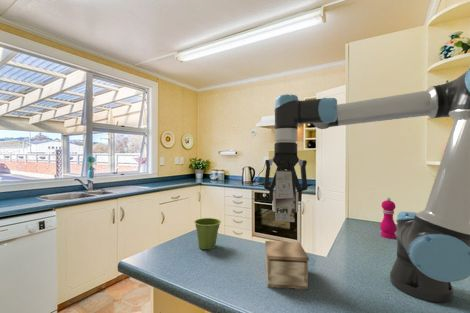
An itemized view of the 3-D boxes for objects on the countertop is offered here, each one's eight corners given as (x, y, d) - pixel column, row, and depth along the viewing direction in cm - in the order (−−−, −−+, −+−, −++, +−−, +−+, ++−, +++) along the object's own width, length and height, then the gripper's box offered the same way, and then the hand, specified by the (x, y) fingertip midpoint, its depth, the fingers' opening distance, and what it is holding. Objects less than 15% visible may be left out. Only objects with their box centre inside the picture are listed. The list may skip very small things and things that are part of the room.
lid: (299, 245, 83) (299, 242, 83) (308, 261, 69) (308, 257, 69) (265, 243, 84) (265, 240, 84) (267, 259, 70) (267, 255, 70)
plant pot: (214, 253, 94) (214, 226, 94) (188, 249, 98) (189, 223, 98) (224, 243, 105) (224, 219, 105) (201, 240, 109) (201, 216, 109)
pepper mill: (380, 233, 122) (380, 195, 122) (396, 236, 118) (397, 197, 118) (379, 237, 116) (379, 197, 116) (396, 240, 112) (397, 199, 112)
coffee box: (295, 222, 72) (296, 171, 72) (274, 221, 73) (275, 170, 73) (294, 215, 80) (294, 169, 81) (275, 214, 82) (276, 169, 82)
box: (298, 267, 83) (299, 245, 83) (307, 289, 69) (307, 263, 69) (265, 265, 84) (265, 243, 84) (267, 287, 70) (267, 261, 70)
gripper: (313, 143, 80) (312, 209, 79) (256, 142, 81) (255, 207, 81) (319, 141, 72) (318, 214, 72) (256, 141, 74) (255, 212, 74)
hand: (284, 210), depth 77 cm, fingers closed on coffee box, 7 cm apart
